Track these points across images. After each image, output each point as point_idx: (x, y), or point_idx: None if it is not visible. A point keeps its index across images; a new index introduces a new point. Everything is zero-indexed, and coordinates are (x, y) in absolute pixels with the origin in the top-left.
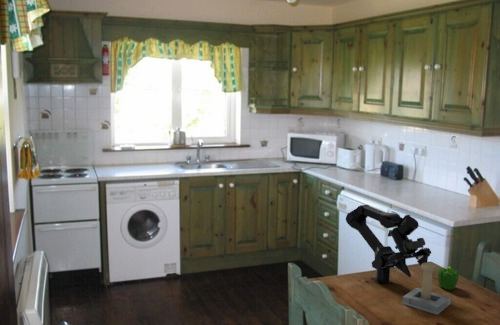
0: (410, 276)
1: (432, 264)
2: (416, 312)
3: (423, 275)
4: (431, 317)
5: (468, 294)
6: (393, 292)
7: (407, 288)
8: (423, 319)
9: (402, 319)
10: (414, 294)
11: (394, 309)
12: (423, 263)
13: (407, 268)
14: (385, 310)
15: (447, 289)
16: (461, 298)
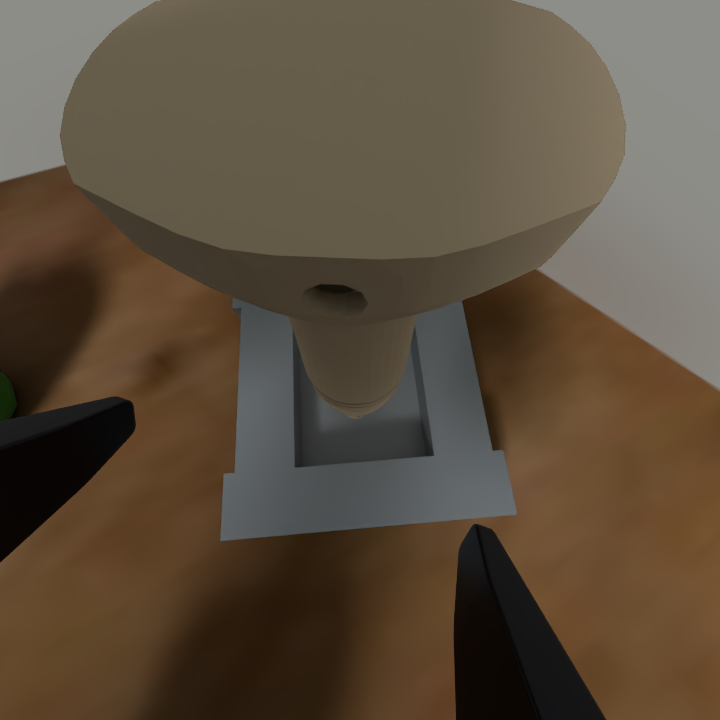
0: (489, 530)
1: (200, 49)
2: (522, 369)
3: (409, 324)
4: (504, 284)
5: (27, 284)
6: (345, 712)
7: (167, 663)
8: (564, 300)
9: (680, 377)
10: (390, 466)
11: (616, 495)
12: (327, 236)
13: (564, 717)
14: (691, 534)
15: (15, 400)
16: (119, 286)
